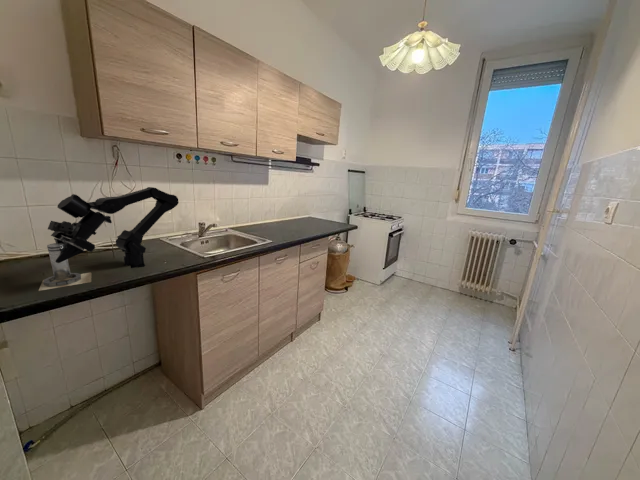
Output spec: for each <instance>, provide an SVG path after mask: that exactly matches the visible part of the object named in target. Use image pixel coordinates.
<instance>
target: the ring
mask: <svg viewBox="0 0 640 480" xmlns="http://www.w3.org/2000/svg"><path fill="white" fill-rule="evenodd" d="M70 273H71V277H74V278H73V279H69V280H66V281H60V282H51V281H53V280H55V278H54V275H52V276H48V277H47V278H44V279H43V280H44V281H43V280H42V281H43V283H44V285H45V286H49V287H54V286H63V285H68V284H71V283H75V282H77V281H79V280H81V274H82V273H78V272H70Z"/></svg>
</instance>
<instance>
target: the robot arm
mask: <svg viewBox="0 0 640 480" xmlns="http://www.w3.org/2000/svg"><path fill="white" fill-rule="evenodd" d="M151 198H152V199H154V200H155V201H156V202H155V205H154V207H153V208H152V209H151V210H149V212H148V213H147V214H146V215H144V217H143V218H142V219H141V220H140V221H139V222H138V223H137V224H136V225H135V226H134V227H133V229H130V230H126V229H124V230H123V231H121V233H120V234H119V235H117V236H116V239H115V245H116V247H117V248H118V249H120V250H121V251H122V252H123V253H124V255H123V263H124V266H129V267H130V269H134V268H139V267H142V268H143V267H145V266H146V264H145V259H144V254H145V252H146V249H147V248H146V247H145V246H143V245H142V242H143V238H144V236H145V234H146V233H148V231H149V230H150V229H151V228H152V227H153V226H154V225H155V224H156V222H158V221H159V219H160V218H161V217H162V216H163V215H164V214H165V213H167V212H169V211H171V210H173V209H174V208H175V207H177V206H178V204H179V198H178V196H177V195H175V194H171V193H167V192H165V191H163V190H160V189H158V188H156V187H152V186H147V187H146V188H143V189H139V190H136V191H132V192H129V193H126V194H122V195H118V196H107V197H106V196H105V197H100V198H97V199H95V201H91V202H87V201H86V200H85V199H82V198H81V197H80V196H79V195H77V194H76V193H75V194H74V193H72V194H71V195H70V196H68V197H66V198H64V199H62V200H60V201H59V203H58V205H57V208H58V209H59V210H60V211H63V212H64V213H66V214H67V215H69V216H71V217H72V218H75V219H78V218H80V219H79V221H78V222H73V223H72V222H70V221H65V220H63V221H62V222H59V221H54V220H50V222H49V223H48V227H47V230H48V231H49V230H50V231H52V233H51V235H50V236H51V237H53V240H54V241H55V243H64V245H65V248H64V250H63V251H62V252H61V254H60V255H59V256H58V258H57V259H56V261H55V262H57V263H60V262H63V261H65V260H67V259H68V260H69V259H71V258H73V257H75V256H77V255H80V254H82V253H85V252H90V253H92V252H93V251H94V250H95V249H96V245H95V244H94V243H92V242H90V241H89V238H90V237H92V235H93V236H95V235H96V234H97V232H96V231H97V230H98V228H100V227H101V226H102V224H104V223H108V224H112V219H111V216H110V215H112V214H116V213H118V212H120V211H122V210H123V209H124V208H125V207H127V206H130V205H133V204H135V203H138V202H141V201H145V200H148V199H151ZM94 210H96V211H94ZM103 213H104V214H103ZM105 214H109V215H105ZM85 250H86V251H85Z"/></svg>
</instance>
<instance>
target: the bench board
mask: <svg viewBox="0 0 640 480" xmlns="http://www.w3.org/2000/svg"><path fill="white" fill-rule="evenodd" d="M80 274H81V280H79V281H77V282H75V283H71V284H68V285H63V286H54V287H49V286H45V285H44V283H43V281H44V279H42V282H41V284H40V286H39V289H38V292H41V291H46V290H52V289H57V288H58V289H59V288H63V287H68V286H69V287H71V286H75V285H81V284H89V283H92V272H85V273H80ZM73 278H74V277H70V278H67V279H62V280H53V281H51V282H60V281H66V280H69V279H73Z"/></svg>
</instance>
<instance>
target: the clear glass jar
mask: <svg viewBox="0 0 640 480" xmlns="http://www.w3.org/2000/svg"><path fill="white" fill-rule="evenodd" d="M46 248H47V252H48V255H49V261H50V265H51V267H52V268H51V269H52V273H53V276H54V278H55V280H62V279H67V278H70V277H71V273H72V272H71V269H70V264H69V259H67V260H65V261H63V262H60V263H57V262H55V261H56V259H57V258H58V256H59V255H60V254H61V252H62V251H63V250H64V248H65V245H64V243H56V242H55V243H48V244H47V245H46Z"/></svg>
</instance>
